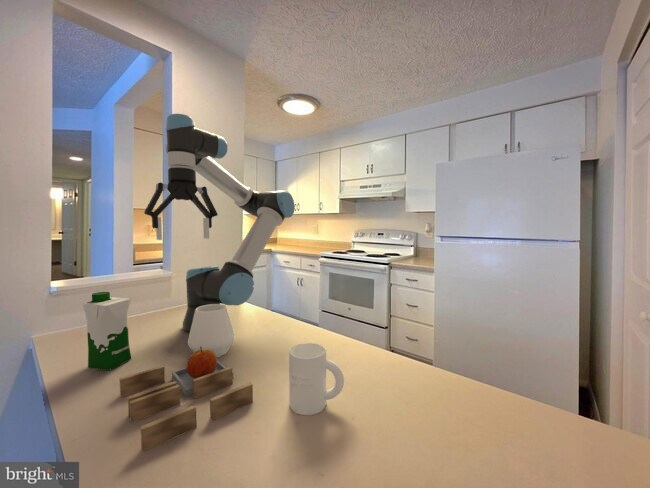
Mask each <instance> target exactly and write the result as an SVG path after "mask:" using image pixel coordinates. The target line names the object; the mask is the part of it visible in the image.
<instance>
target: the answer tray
mask: <svg viewBox="0 0 650 488" xmlns="http://www.w3.org/2000/svg"><path fill="white" fill-rule="evenodd" d="M216 360H217V365H216V369H215V371H214V372H216V371H219V370H222V369H225V368H227V367H226V366H225V365H224V364H223V363H222V362H221V361H219V360H218V359H217V358H216ZM171 379H172V380H173V382H174V381H176V382H177V385H179V386H180V391H182V393H183V394H184V396H185V397H186V398H188V397H190V396H193V379H195V378H193V377H191V376H190V375H189V374H188V371H187V366H186V367H184V368H180V369H177V370H174V371H172V372H171ZM233 380H234V372H232V381H233Z"/></svg>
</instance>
